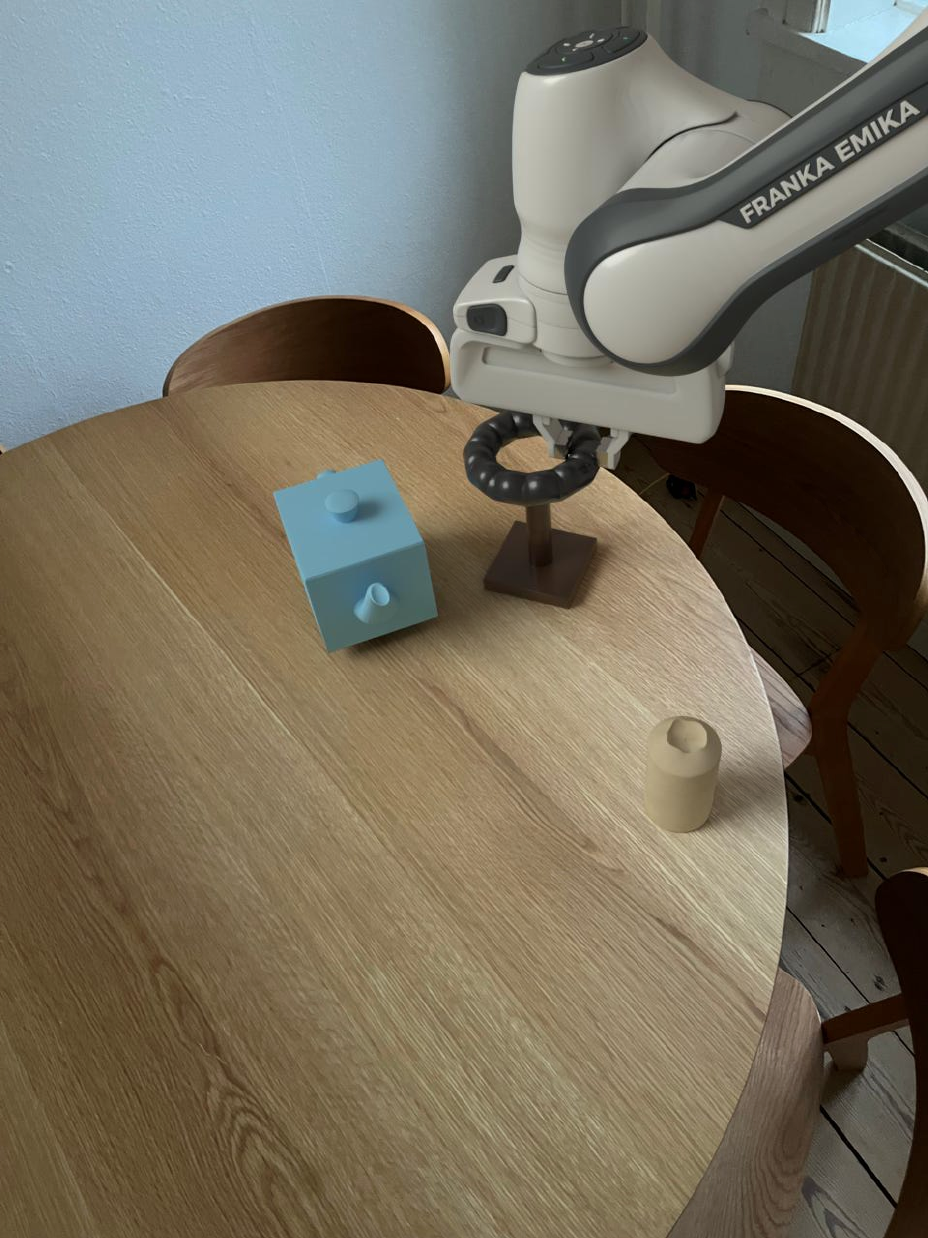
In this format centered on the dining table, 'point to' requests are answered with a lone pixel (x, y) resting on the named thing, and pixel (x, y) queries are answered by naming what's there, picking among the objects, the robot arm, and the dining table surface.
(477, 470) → the ring
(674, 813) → the candle
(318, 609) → the teapot
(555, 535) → the stand
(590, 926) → the dining table surface
